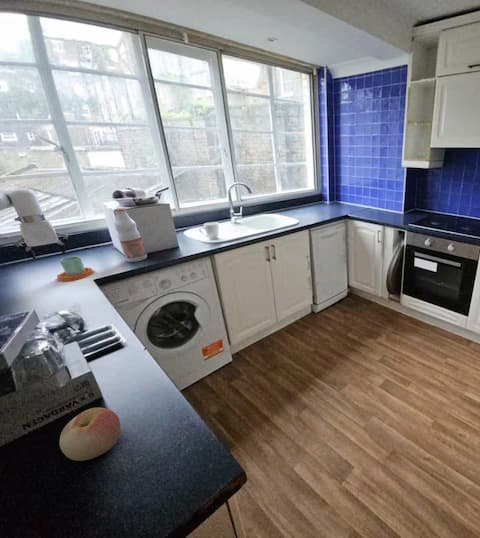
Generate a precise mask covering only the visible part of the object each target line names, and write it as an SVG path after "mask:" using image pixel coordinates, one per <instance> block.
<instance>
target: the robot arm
mask: <svg viewBox="0 0 480 538" xmlns="http://www.w3.org/2000/svg"><path fill="white" fill-rule="evenodd" d="M10 208H14V210H15V212H16V215H17V217H14V218H13V219H14V221H15V222H20V223H19V229H20V232H21V236H22V237H20V238H18V239H17V240H15V241H14V242H13V245H14V246H16V247H17V248H18V249H20V250H23V251H26V252H27V254H28V256H29V258H31V259H32V260H36V259H37V257H36V255H35V252H34V250H33V249H32V247H38V246H45V245H51V244H58V245H59V249H60V250H61V253H62V255H66V252H67V249H66V247H65V244H66V243H67V241H68V238H69V234H68V233H65V232H59V231H56V230H55V228H54V226H53V225H52V223H51V222H50V220H49V219H46V217H45V214H44V211H43V210H42V209H43V208H42V207H41V205H40V203H39V200H38V198H37V195H36V193H35V191H33V190H32V189H30V188H29V189H28V188H22V189H13V190H3V189H2V190H0V212H2V211H4V210H6V209H10ZM59 237H63V239H62V240H61V239H59ZM22 242H25V245H22V244H21V243H22Z"/></svg>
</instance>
